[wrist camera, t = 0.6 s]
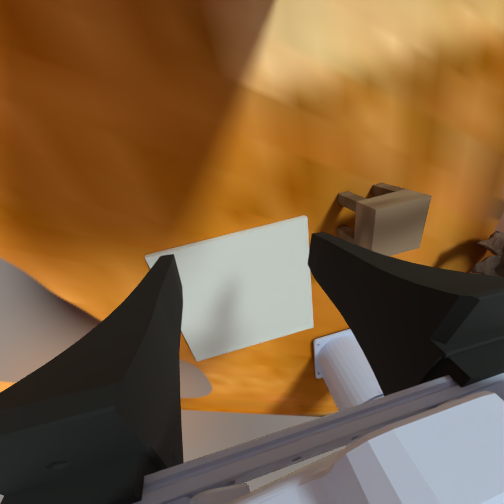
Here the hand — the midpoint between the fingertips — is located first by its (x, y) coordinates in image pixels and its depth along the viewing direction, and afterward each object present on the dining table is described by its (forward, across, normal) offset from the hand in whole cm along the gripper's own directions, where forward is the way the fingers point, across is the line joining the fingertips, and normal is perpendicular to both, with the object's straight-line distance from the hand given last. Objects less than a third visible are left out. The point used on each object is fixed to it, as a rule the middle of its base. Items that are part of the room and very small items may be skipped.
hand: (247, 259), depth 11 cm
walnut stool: (+9, -14, +3) cm, 17 cm away
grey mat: (+9, -1, +12) cm, 15 cm away
